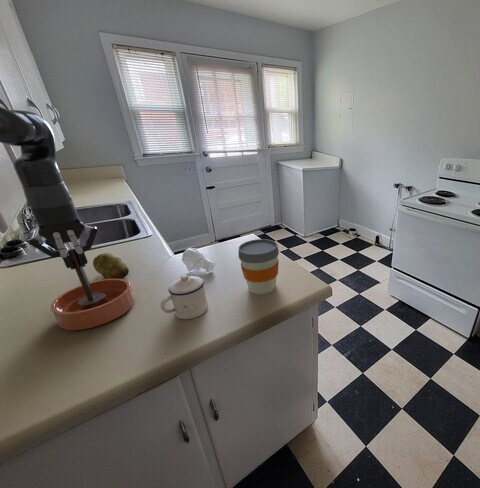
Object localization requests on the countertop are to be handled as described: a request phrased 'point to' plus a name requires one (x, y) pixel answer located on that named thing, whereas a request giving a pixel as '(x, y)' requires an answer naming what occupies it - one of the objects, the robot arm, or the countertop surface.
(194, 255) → the crumpled white tissue
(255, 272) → the reusable coffee cup
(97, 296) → the wooden tamper
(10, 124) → the robot arm
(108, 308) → the bowl
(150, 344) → the countertop surface
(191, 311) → the teacup with lid
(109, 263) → the potato
